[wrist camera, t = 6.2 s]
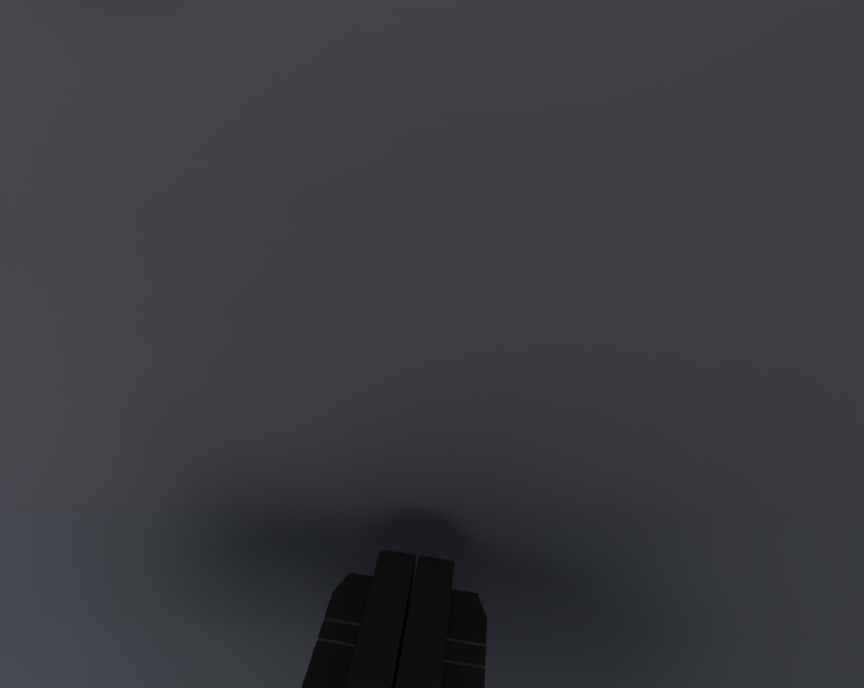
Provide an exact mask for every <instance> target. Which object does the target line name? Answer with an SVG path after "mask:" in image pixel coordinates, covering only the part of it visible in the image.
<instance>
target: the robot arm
mask: <svg viewBox="0 0 864 688" xmlns="http://www.w3.org/2000/svg"><path fill="white" fill-rule="evenodd" d="M415 561H416V555H413V554H407V553H401V552H394V551H388V550H382V549H381V550H380V553H379V557H378V560H377V564H376V568H375V572H374V576H367V575H361V574H355V573H349V574H348V575H347V577H346V578H345V579H344V580H343V581H342V582H341V583H340V584H339V586H338V587H337V588H336V589H335V590H334V591H333V593H332V596H331V599H330V602H329V605H328V608H327V611H326V614H325V619H324V621H323V624H322V627H321V630H320V633H319V636H318V641H317V642H316V645H315V648H314V651H313V654H312V657H311V660H310V664H309V667H308V670H307V673H306V676H305V679H304V682H303V685H302V688H484V685H485V656H486V649H485V647H486V628H487V617H486V614H485V612H484V609H483V607H482V604H481V602H480V599H479V597H478V594H477V593H472V592H466V591H460V590H454V589H452V579H453V569H454V561H451V560H445V559H439V558H433V557H427V556H420V555H419V558H418V563H417V569H416V575H415V580H414V586H413V578H414V570H415ZM412 586H413V592H412ZM411 594H412V597H411Z"/></svg>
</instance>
